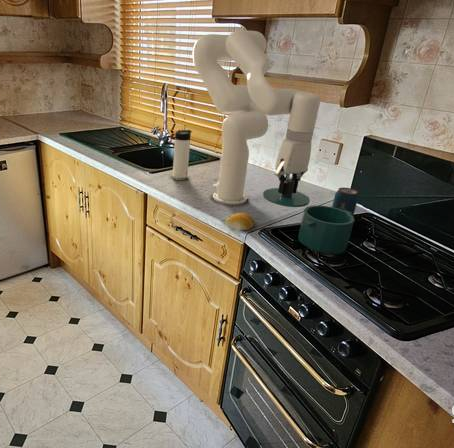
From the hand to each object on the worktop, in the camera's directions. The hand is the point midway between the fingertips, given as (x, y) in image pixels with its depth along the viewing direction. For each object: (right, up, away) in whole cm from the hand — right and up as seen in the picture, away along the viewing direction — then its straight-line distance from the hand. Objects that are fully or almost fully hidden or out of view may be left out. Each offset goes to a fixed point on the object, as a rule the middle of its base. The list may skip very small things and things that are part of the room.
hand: (287, 192), depth 129 cm
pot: (+8, -16, -8) cm, 20 cm away
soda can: (+19, -10, +5) cm, 22 cm away
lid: (0, -2, +1) cm, 2 cm away
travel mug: (-32, +9, +41) cm, 53 cm away
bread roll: (-15, -11, 0) cm, 19 cm away
